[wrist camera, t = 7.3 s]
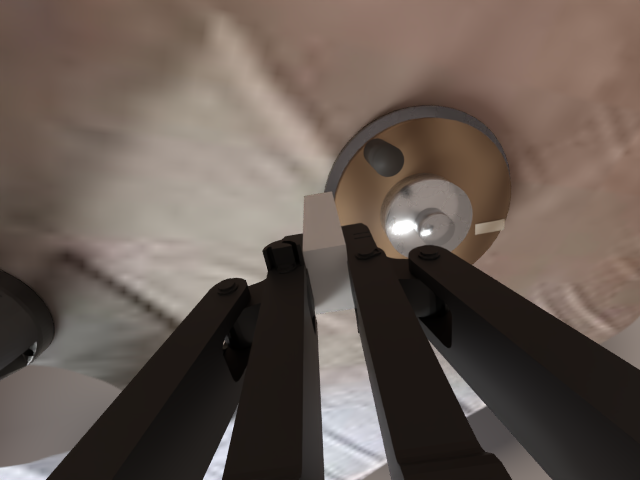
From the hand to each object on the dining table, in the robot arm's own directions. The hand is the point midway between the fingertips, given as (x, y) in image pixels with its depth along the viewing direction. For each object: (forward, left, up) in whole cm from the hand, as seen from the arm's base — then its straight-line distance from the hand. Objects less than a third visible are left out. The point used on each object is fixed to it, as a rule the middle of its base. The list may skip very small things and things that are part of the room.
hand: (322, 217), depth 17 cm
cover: (+9, -7, -14) cm, 18 cm away
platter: (+10, -7, -15) cm, 19 cm away
